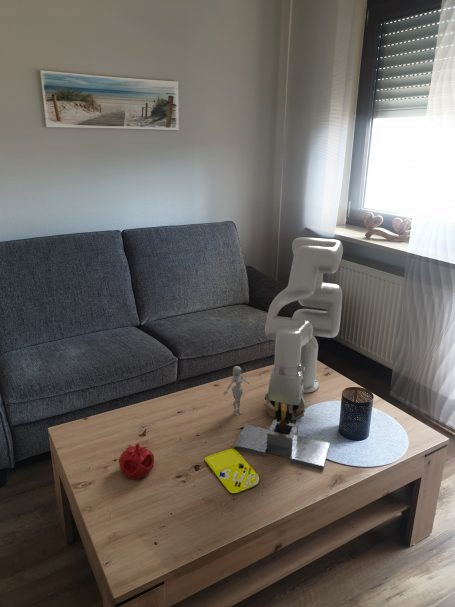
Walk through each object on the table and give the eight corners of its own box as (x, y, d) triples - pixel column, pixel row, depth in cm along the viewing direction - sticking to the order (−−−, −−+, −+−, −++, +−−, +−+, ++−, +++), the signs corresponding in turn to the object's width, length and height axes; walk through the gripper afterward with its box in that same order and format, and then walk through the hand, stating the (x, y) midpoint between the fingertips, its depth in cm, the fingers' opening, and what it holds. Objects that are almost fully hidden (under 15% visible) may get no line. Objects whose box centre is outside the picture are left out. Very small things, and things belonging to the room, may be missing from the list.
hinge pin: (280, 421, 151) (281, 394, 148) (288, 423, 150) (290, 395, 147) (278, 426, 149) (279, 398, 145) (286, 428, 148) (288, 399, 145)
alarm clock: (281, 392, 179) (312, 403, 167) (282, 405, 180) (312, 416, 168) (259, 402, 173) (289, 414, 161) (260, 415, 174) (290, 427, 162)
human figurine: (227, 421, 166) (228, 374, 160) (220, 416, 169) (220, 370, 163) (252, 408, 174) (253, 363, 168) (244, 404, 176) (246, 360, 170)
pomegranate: (117, 464, 144) (115, 438, 141) (150, 457, 147) (149, 431, 144) (122, 486, 135) (120, 458, 132) (157, 478, 138) (156, 451, 135)
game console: (201, 460, 147) (201, 456, 146) (233, 450, 152) (233, 446, 151) (231, 498, 132) (231, 493, 132) (265, 484, 137) (265, 480, 137)
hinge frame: (245, 428, 162) (246, 410, 160) (329, 446, 153) (331, 428, 151) (233, 448, 152) (234, 429, 149) (323, 470, 143) (325, 450, 140)
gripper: (316, 366, 144) (311, 419, 150) (264, 357, 149) (261, 409, 155) (311, 378, 137) (307, 433, 143) (257, 368, 142) (255, 421, 148)
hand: (283, 420), depth 149 cm, fingers closed on hinge pin, 2 cm apart
